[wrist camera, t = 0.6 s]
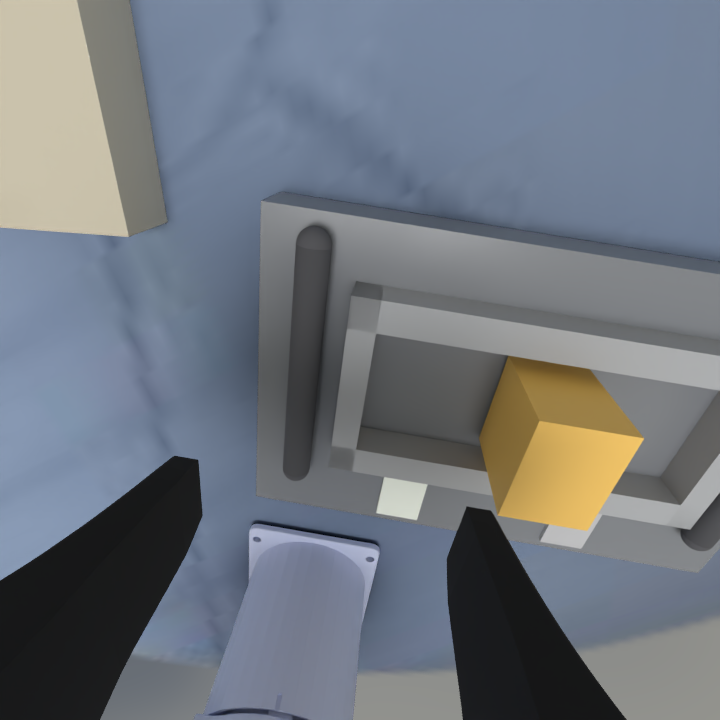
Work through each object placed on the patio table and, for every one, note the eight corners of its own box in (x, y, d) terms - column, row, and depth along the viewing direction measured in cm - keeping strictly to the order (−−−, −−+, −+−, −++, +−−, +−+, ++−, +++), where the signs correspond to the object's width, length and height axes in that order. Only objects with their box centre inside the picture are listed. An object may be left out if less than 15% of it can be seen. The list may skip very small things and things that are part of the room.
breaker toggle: (550, 450, 17) (587, 531, 14) (478, 438, 17) (497, 515, 14) (589, 368, 15) (644, 438, 12) (508, 355, 15) (539, 420, 12)
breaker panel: (668, 529, 22) (718, 603, 19) (270, 461, 23) (246, 520, 19) (856, 283, 15) (989, 327, 12) (280, 191, 16) (245, 207, 12)
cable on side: (311, 469, 19) (305, 489, 18) (285, 465, 19) (278, 484, 18) (336, 225, 14) (330, 232, 13) (301, 219, 14) (293, 227, 13)
